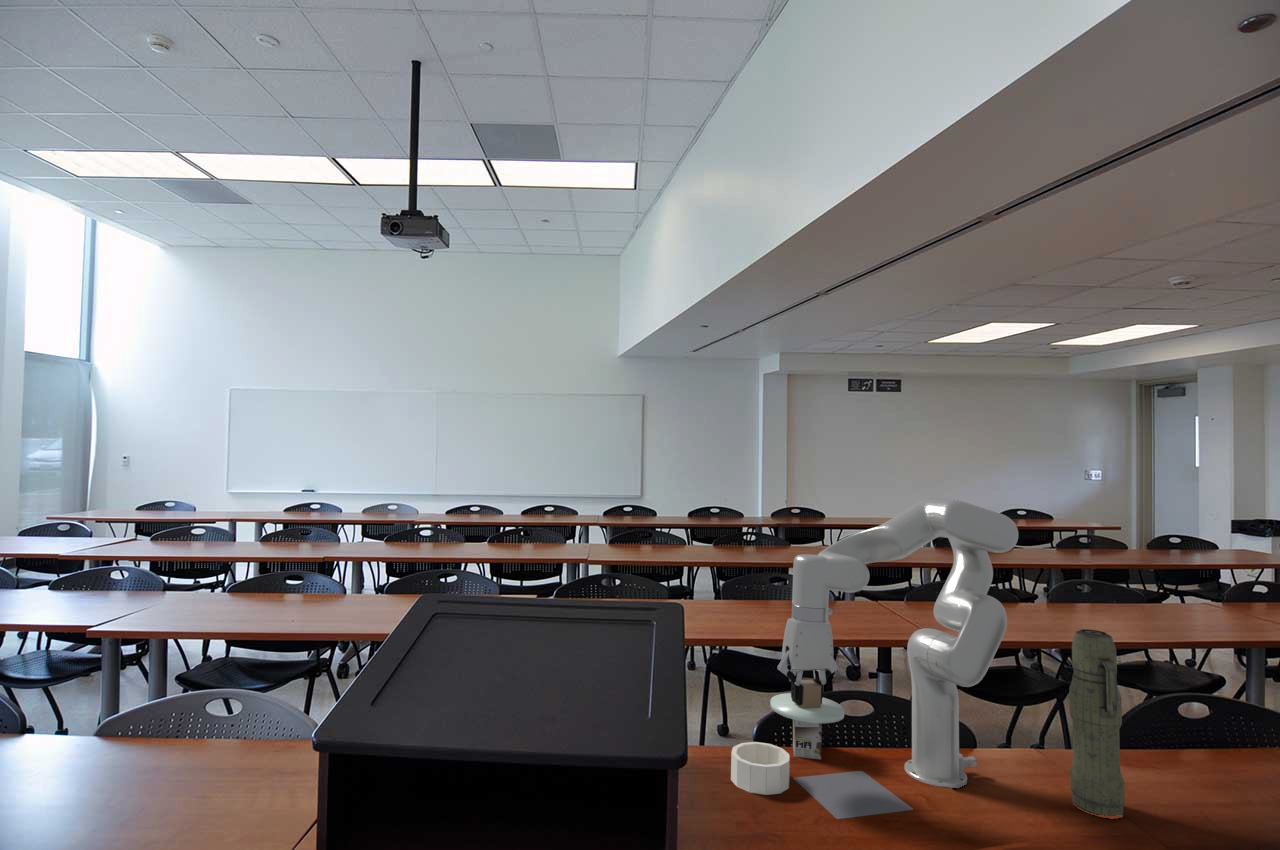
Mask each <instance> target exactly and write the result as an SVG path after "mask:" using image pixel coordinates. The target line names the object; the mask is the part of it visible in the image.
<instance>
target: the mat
mask: <svg viewBox="0 0 1280 850" xmlns="http://www.w3.org/2000/svg"><path fill="white" fill-rule="evenodd" d="M792 779H793V780H794V781H796V782H797V784H799V786H801V787H802V788H803V789H804V790H805V791H806V792H807V793H808V794H809V795H810V796H811V797H813V798H814V799H815V800H816V801H817V802H818V803H819V804H820V805H821V806H822V807H823V808H824V809H825V810H826V811H828V813H830V814H831V815H832V816H833V817H834V818H835V819H837V820H843V819H850V818H859V817H867V816H876V815H882V814H884V815H885V814H891V813H898V812H899V813H900V812H907V811H914V808H912V807H911V806H910V805H909V804H907V803H906V802H905V801H903V800H902V799H901V798H900V797H898V796H896V795H895V794H894V793H893V792H891V791H890V790H889V789H887V788H886V787H885V786H883V785H882V784H881V783H879V782H878V781H876V780H875V779H874V778H872V777H871V776H870V775H869V774H867V773H866V772H865V771H863V770H856V771H855V770H854V771H846V772H836V773H827V774H817V775H808V776H798V777H792Z"/></svg>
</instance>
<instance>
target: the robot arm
mask: <svg viewBox="0 0 1280 850" xmlns="http://www.w3.org/2000/svg"><path fill="white" fill-rule="evenodd" d="M938 538H944V539H945V538H947V539H948V541H949V543H950V546H951V549H952V553H953V563H952V566H951V569H950V572H949V574H948V576H947V578H946V580H945V583H944V584H943V586H942V589H941V590H940V592H939V594H938V596H937V598H936V601H935V603H934V605H933V617H934V618H935V620H936V622H937V623H939V624H940V625H941V626H943V627H944V628H946V629H949V630H952V631H955V632H957V636H955V635H954V634H951V633H948V632H946V631H945V632H944V631H942V630H939V629H936V628H928V627H925V628H924V627H923V628H920V629H918V630H915V631H914V632H913V633H912V634H911V635H910V638H909V639H908V642H907V647H906V648H907V653H906V654H907V659H908V664H909V669H910V676H911V677H910V679H911V759H908V760H907V761H906V762H905V763H904V771H905V772H906V774H907V775H908V776H910V777H911V778H913V779H915V780H916V781H919V782H921V783H924V784H927V785H931V786H935V787H941V788H949V789H951V788H956V789H961V788H962V786H963V787H964V785H967V783H968V776H967V774H966V773H965V771H964V770H965V769H966V768H967V767H969V768H971V767H977V765H978V761H977V758H976V757H974V756H966V757H964V755H963V754H962V753H960V725H959V724H960V721H959V720H960V715H959V714H960V713H959V711H960V701H959V692H958V691H959V690H958V687H957V686H960V687H963V688H965V687H966V688H970V687H973V686H975V685H978V684H979V683H980V682H981V681H982V680H983V678H984V677H985V676H986V674H987V672H988V670H989V668H990V666H991V664H992V662H993V660H994V657H995V655H996V653H997V651H998V649H999V647H1000V645H1001V642H1002V641H1003V638H1004V636H1005V633H1006V630H1007V626H1008V625H1007V624H1008V615H1007V611H1006V608H1005V607H1004V605H1003V604H1002V603H1001V601H999V600H998V599H996V598H995V597H993V596H991V595H988V592H989V590H990V588H991V585H992V582H993V577H994V569H993V565H992V561H991V558H990V556H989V553H988V552H990V553H993V554H994V553H997V554H1003V553H1007V552H1009V551H1011V550H1012V549H1014V547H1015V546H1016V545H1017V543H1018V540H1019V530H1018V527H1017V525H1016V523H1015V521H1013V520H1012V519H1011V518H1010V517H1009V516H1007V515H1005V514H1003V513H1000V512H997V511H994V510H990V509H986V508H985V507H981V506H978V505H975V504H972V503H969V502H965V501H962V500H958V499H948V498H931V497H930V498H925V499H922V500H920V501H918V502H917V503H915V504H913V505H911V506H910V507H908V508H907V509H905V510H903V511H901V512H900V513H898V514H897V515H895V516H894V517H892V518H891V519H889V520H887V521H885V522H883V523H882V524H879V525H877V526H873V527H871V528H867V529H865V530H863V531H860V532H857V533H854V534H850V535H848V536H846V537H844V538H842V539H839V540H838V541H835V542H833V544H830V545H829V546H828V547H826V548H824V549H822V550H821V551H820V552H819V553H818V554H808V553H805V554H798V555H796V556H795V557H794V559H793V565H792V566H793V567H792V568H793V569H792V570H793V571H792V595H791V596H792V597H791V618H790V617H789V618H787V621H786V625H785V629H784V633H783V634H784V635H783V638H782V639H783V640H782V649H781V659H780V662H779V663H778V665H777V670H778V671H779V672H780V673H782V674H783V675H785V676H786V678H787V679H788V681H789V682H791V683H790V685H791V687H790V691H791V692H790V693H791V698H792V701H793V702H795V703H796V704H798V705H802V697H803V686H802V685H800V684H801V679H802V678H803V673H804V671H813V678H814V680H812V681H814V682H816V683H817V684H819V685H821V704H822V698H824V685H826V684H827V680H828V679H829V678H830V676H832V674H833V673H835V672H836V671H837V670H838V669H839V665H838V664H837V661H836V660H835V658H834V638H833V630H832V626H831V622H830V620H829V616H830V615H833V612H834V611H833V609H832V608H829V603H830V602H829V599H830V597H829V596H830V591H838V592H842V593H849V594H851V593H858V592H861V591H862V590H863V589H865V588H866V587H867V585H868V584H869V581H870V578H871V577H870V571H869V569H868V566H867V565H868V564H872V563H879V562H880V563H881V562H891V561H897V560H902V559H905V558H907V557H908V556H910V555H911V554H913V553H915V552H916V551H917V550H920V549H921V548H922V547H924V546H925V545H927V544H928V543H930V542H931V541H934V540H935V539H938ZM788 666H790V669H788ZM960 787H961V788H960Z"/></svg>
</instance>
